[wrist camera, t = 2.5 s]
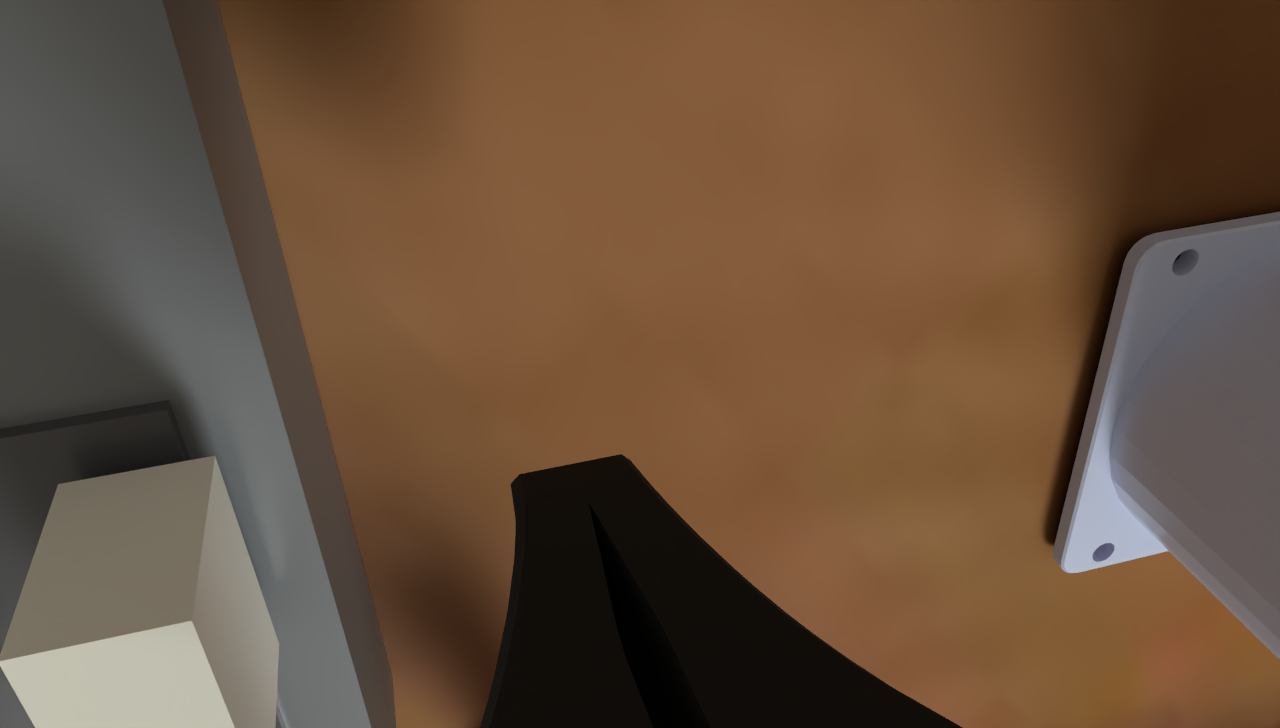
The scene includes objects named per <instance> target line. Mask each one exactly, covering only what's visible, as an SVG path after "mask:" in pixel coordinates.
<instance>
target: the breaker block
mask: <svg viewBox="0 0 1280 728" xmlns="http://www.w3.org/2000/svg"><path fill="white" fill-rule="evenodd" d="M210 456H215V457H216V460H217V463H218V466H219V468H220V471H221V474H222V477H223V480H224V483H225V486H226V489H227V492H228V495H229V498H230V501H231V504H232V507H233V510H234V513H235V515H236V518H237V521H238V524H239V527H240V530H241V533H242V536H243V539H244V542H245V545H246V548H247V551H248V554H249V557H250V559H251V562H252V565H253V568H254V571H255V574H256V577H257V580H258V583H259V586H260V589H261V592H262V595H263V598H264V601H265V604H266V606H267V609H268V612H269V615H270V618H271V621H272V624H273V627H274V630H275V633H276V636H277V639H278V642H279V657H278V681H277V704H276V727H275V728H396V717H395V704H394V691H393V678H392V674H391V670H390V666H389V663H388V659H387V655H386V651H385V647H384V643H383V639H382V636H381V632H380V628H379V624H378V620H377V616H376V612H375V608H374V605H373V601H372V597H371V593H370V589H369V585H368V581H367V578H366V574H365V570H364V566H363V562H362V558H361V554H360V551H359V547H358V543H357V539H356V535H355V531H354V527H353V524H352V520H351V516H350V512H349V508H348V504H347V500H346V497H345V493H344V489H343V485H342V481H341V477H340V473H339V469H338V466H337V462H336V458H335V454H334V450H333V446H332V442H331V439H330V435H329V431H328V427H327V423H326V419H325V415H324V412H323V408H322V404H321V400H320V396H319V392H318V388H317V385H316V381H315V377H314V373H313V369H312V365H311V361H310V358H309V354H308V350H307V346H306V342H305V338H304V334H303V330H302V327H301V323H300V319H299V315H298V311H297V307H296V303H295V300H294V296H293V292H292V288H291V284H290V280H289V276H288V273H287V269H286V265H285V261H284V257H283V253H282V249H281V246H280V242H279V238H278V234H277V230H276V226H275V222H274V219H273V215H272V211H271V207H270V203H269V199H268V195H267V191H266V188H265V184H264V180H263V176H262V172H261V168H260V164H259V161H258V157H257V153H256V149H255V145H254V141H253V137H252V134H251V130H250V126H249V122H248V118H247V114H246V110H245V107H244V103H243V99H242V95H241V91H240V87H239V83H238V80H237V76H236V72H235V68H234V64H233V60H232V56H231V53H230V49H229V45H228V41H227V37H226V33H225V29H224V25H223V22H222V18H221V14H220V10H219V6H218V2H217V0H0V653H1V650H2V647H3V644H4V642H5V639H6V636H7V633H8V630H9V627H10V624H11V621H12V618H13V615H14V612H15V609H16V606H17V603H18V600H19V598H20V595H21V592H22V589H23V586H24V583H25V580H26V577H27V574H28V571H29V568H30V565H31V562H32V559H33V556H34V554H35V551H36V548H37V545H38V542H39V539H40V536H41V533H42V530H43V527H44V524H45V521H46V518H47V515H48V512H49V509H50V507H51V504H52V501H53V498H54V495H55V492H56V489H57V486H58V484H62V483H67V482H73V481H78V480H84V479H89V478H95V477H100V476H106V475H111V474H117V473H122V472H128V471H133V470H139V469H144V468H150V467H155V466H161V465H166V464H172V463H177V462H183V461H188V460H194V459H199V458H205V457H210ZM0 728H35V727H34V725H33V723H32V721H31V720H30V718H29V716H28V714H27V713H26V711H25V709H24V707H23V705H22V704H21V702H20V700H19V698H18V697H17V695H16V693H15V691H14V690H13V688H12V686H11V684H10V683H9V681H8V679H7V677H6V676H5V674H4V672H3V670H2V669H1V667H0Z"/></svg>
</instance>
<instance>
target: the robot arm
mask: <svg viewBox="0 0 1280 728" xmlns="http://www.w3.org/2000/svg"><path fill="white" fill-rule="evenodd" d="M1181 253H1182V254H1181ZM1180 254H1181V256H1180V258H1179V259H1177V260H1176V261H1175V259H1176V257H1177V256H1178V255H1180ZM1174 261H1175V262H1174ZM511 489H512V496H513V504H514V511H515V518H516V538H515V557H514V566H513V574H512V582H511V590H510V598H509V606H508V612H507V618H506V623H505V628H504V632H503V637H502V642H501V647H500V652H499V657H498V661H497V666H496V671H495V675H494V679H493V683H492V687H491V691H490V695H489V699H488V702H487V706H486V710H485V713H484V717H483V720H482V724H481V727H480V728H962V727H960V726H959V725H957V724H955V723H953V722H952V721H950V720H948V719H946V718H945V717H943V716H941V715H939V714H938V713H936V712H934V711H932V710H931V709H929V708H927V707H925V706H924V705H922V704H920V703H918V702H917V701H915V700H913V699H911V698H910V697H908V696H906V695H904V694H903V693H901V692H899V691H897V690H896V689H894V688H892V687H891V686H889V685H888V684H886V683H885V682H883V681H882V680H880V679H878V678H877V677H875V676H874V675H872V674H871V673H869V672H868V671H866V670H865V669H863V668H862V667H860V666H859V665H857V664H856V663H854V662H852V661H851V660H850V659H848V658H847V657H845V656H844V655H842V654H841V653H840V652H838V651H837V650H835V649H834V648H833V647H831V646H830V645H828V644H827V643H825V642H824V641H823V640H821V639H820V638H818V637H817V636H816V635H814V634H813V633H812V632H810V631H809V630H808V629H806V628H805V627H804V626H802V625H801V624H800V623H799V622H797V621H796V620H795V619H793V618H792V617H791V616H790V615H788V614H787V613H786V612H785V611H783V610H782V609H781V608H780V607H778V606H777V605H776V604H775V603H774V602H772V601H771V600H770V599H769V598H768V597H766V596H765V595H764V594H763V593H762V592H760V591H759V590H758V589H757V588H756V587H754V586H753V585H752V584H751V583H750V582H749V581H748V580H746V579H745V578H744V577H743V576H742V575H741V574H740V573H739V572H737V571H736V570H735V569H734V568H733V567H732V566H731V565H730V564H729V563H728V562H727V561H726V560H724V559H723V558H722V557H721V556H720V555H719V554H718V553H717V552H716V551H715V550H714V549H713V548H712V547H711V546H710V545H709V544H707V543H706V542H705V541H704V540H703V539H702V538H701V537H700V536H699V535H698V534H697V533H696V532H695V531H694V530H693V529H692V528H691V527H690V526H689V525H688V524H687V523H686V522H685V521H684V520H683V519H682V518H681V517H680V516H679V515H678V514H677V513H676V511H675V510H674V509H673V508H672V507H671V506H670V505H669V504H668V503H667V502H666V501H665V500H664V499H663V498H662V497H661V495H660V494H659V493H658V492H657V491H656V490H655V489H654V488H653V487H652V485H651V484H650V483H649V482H648V481H647V480H646V478H645V477H644V476H643V475H642V474H641V473H640V471H639V470H638V469H637V468H636V467H635V465H634V464H633V463H632V462H631V461H630V460H629V459H628V458H626V457H625V456H623V455H622V454H620V455H615V456H610V457H605V458H600V459H595V460H590V461H585V462H580V463H575V464H570V465H565V466H560V467H554V468H549V469H544V470H539V471H534V472H529V473H524V474H519V476H518V477H517V478H516V479H515V480H514V481H513V482H512V483H511ZM1166 551H1169V552H1170V553H1171V554H1172V555H1173V556H1174V557H1175V558H1177V559H1178V560H1179V561H1180V562H1181V563H1182V564H1183V565H1184V566H1185V567H1186V568H1187V569H1188V570H1189V571H1190V572H1191V573H1192V574H1193V575H1194V576H1195V577H1196V578H1197V579H1198V580H1199V581H1200V582H1201V583H1202V584H1203V585H1204V586H1205V587H1206V588H1207V589H1208V590H1209V591H1210V592H1211V593H1212V594H1213V595H1214V596H1215V597H1216V598H1217V599H1218V600H1219V601H1220V602H1221V603H1222V604H1223V605H1224V606H1225V607H1226V608H1227V609H1229V610H1230V611H1231V612H1232V613H1233V614H1234V615H1235V616H1236V617H1237V618H1238V619H1239V620H1240V621H1241V622H1242V623H1243V624H1244V625H1245V626H1246V627H1247V628H1248V629H1249V630H1250V631H1251V632H1252V633H1253V634H1254V635H1255V636H1256V637H1257V638H1258V639H1259V640H1260V641H1261V642H1262V643H1263V644H1264V645H1265V646H1266V647H1267V648H1268V649H1269V650H1270V651H1271V652H1272V653H1273V654H1274V655H1275V656H1276V657H1277V658H1278V659H1279V660H1280V212H1275V213H1269V214H1263V215H1257V216H1251V217H1246V218H1240V219H1234V220H1228V221H1222V222H1216V223H1211V224H1205V225H1199V226H1193V227H1187V228H1181V229H1175V230H1170V231H1164V232H1158V233H1153V234H1151V235H1148V236H1145V237H1143V238H1142V239H1141V240H1139V241H1138V242H1137V243H1135V244H1134V245H1133V247H1132V248H1131V249H1130V250H1129V252H1128V254H1127V256H1126V258H1125V261H1124V264H1123V268H1122V272H1121V276H1120V280H1119V284H1118V288H1117V292H1116V296H1115V300H1114V304H1113V308H1112V312H1111V317H1110V321H1109V325H1108V329H1107V333H1106V337H1105V341H1104V345H1103V349H1102V353H1101V357H1100V361H1099V365H1098V369H1097V374H1096V378H1095V382H1094V386H1093V390H1092V394H1091V398H1090V402H1089V406H1088V410H1087V414H1086V418H1085V422H1084V426H1083V430H1082V435H1081V439H1080V443H1079V447H1078V451H1077V455H1076V459H1075V463H1074V467H1073V471H1072V475H1071V479H1070V483H1069V487H1068V491H1067V496H1066V500H1065V504H1064V508H1063V512H1062V516H1061V520H1060V524H1059V528H1058V532H1057V536H1056V540H1055V544H1054V548H1053V558H1054V560H1055V561H1056V563H1057V564H1058V565H1059V566H1060V567H1061V568H1062V569H1063V571H1065V572H1068V573H1079V572H1083V571H1087V570H1091V569H1095V568H1100V567H1104V566H1108V565H1112V564H1116V563H1120V562H1124V561H1129V560H1133V559H1137V558H1141V557H1145V556H1149V555H1153V554H1157V553H1162V552H1166Z"/></svg>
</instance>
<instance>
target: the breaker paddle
mask: <svg viewBox="0 0 1280 728" xmlns="http://www.w3.org/2000/svg"><path fill="white" fill-rule="evenodd" d="M278 657H279V642H278V639H277V636H276V633H275V630H274V627H273V624H272V621H271V618H270V615H269V612H268V609H267V606H266V604H265V601H264V598H263V595H262V592H261V589H260V586H259V583H258V580H257V577H256V574H255V571H254V568H253V565H252V562H251V559H250V557H249V554H248V551H247V548H246V545H245V542H244V539H243V536H242V533H241V530H240V527H239V524H238V521H237V518H236V515H235V513H234V510H233V507H232V504H231V501H230V498H229V495H228V492H227V489H226V486H225V483H224V480H223V477H222V474H221V471H220V468H219V466H218V463H217V460H216V457H215V456H210V457H205V458H199V459H194V460H188V461H183V462H177V463H172V464H166V465H161V466H155V467H150V468H144V469H139V470H133V471H128V472H122V473H117V474H111V475H106V476H100V477H95V478H89V479H84V480H78V481H73V482H67V483H62V484H58V486H57V489H56V492H55V495H54V498H53V501H52V504H51V507H50V509H49V512H48V515H47V518H46V521H45V524H44V527H43V530H42V533H41V536H40V539H39V542H38V545H37V548H36V551H35V554H34V556H33V559H32V562H31V565H30V568H29V571H28V574H27V577H26V580H25V583H24V586H23V589H22V592H21V595H20V598H19V600H18V603H17V606H16V609H15V612H14V615H13V618H12V621H11V624H10V627H9V630H8V633H7V636H6V639H5V642H4V644H3V647H2V650H1V653H0V667H1V669H2V670H3V672H4V674H5V676H6V677H7V679H8V681H9V683H10V684H11V686H12V688H13V690H14V691H15V693H16V695H17V697H18V698H19V700H20V702H21V704H22V705H23V707H24V709H25V711H26V713H27V714H28V716H29V718H30V720H31V721H32V723H33V725H34V727H35V728H275V727H276V704H277V681H278Z"/></svg>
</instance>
